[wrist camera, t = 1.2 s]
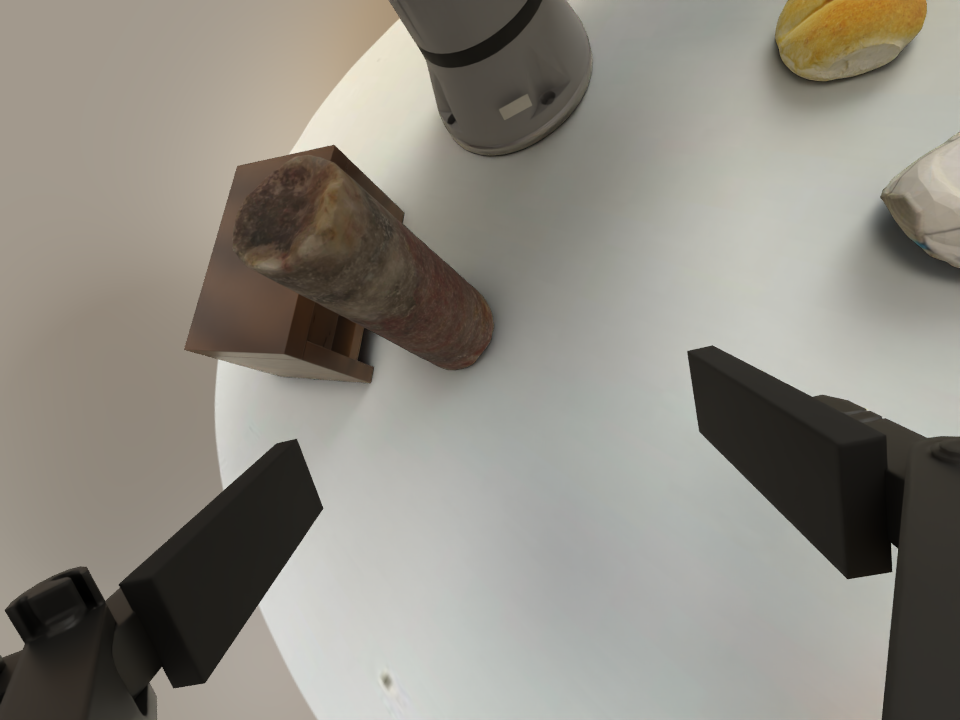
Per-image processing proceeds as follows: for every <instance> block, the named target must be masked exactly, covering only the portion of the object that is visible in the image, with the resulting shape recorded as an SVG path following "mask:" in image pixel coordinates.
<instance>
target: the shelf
mask: <svg viewBox="0 0 960 720" xmlns="http://www.w3.org/2000/svg"><path fill="white" fill-rule="evenodd" d="M304 155H312V156H316V157H321V158H324V159H326V160H329V161H331V162H334V163H335V164H336V165H337V166H338V167H340V168H341V169H342V170H343V171H344V172H345V173H346V174H348V175H349V176H350V177H351V178H352V179H354V180H355V181H356V182H357V183H358V184H359V185H360V186H361V187H362V188H363V189H364V190H366V191H367V192H368V193H369V194H370V195H371V196H372V197H373V198H374V199H376V200H377V201H378V202H379V203H380V204H381V205H382V206H383V207H384V208H386V209H387V210H388V211H389V212H390V213H391V214H392V215H393V216H394V217H395V218H396V219H397V220H398V221H400V222H401V223H402V221H403V216H404V212H403V211H402V210H401V209H400V208H399V207H398V206H397V205H396V204H395V203H394V202H393V201H392V200H391V199H390V198H389V197H388V196H387V195H386V194H385V193H383V192H382V191H381V190H380V189H379V188H378V187H377V186H376V185H375V184H374V183H373V182H372V181H371V180H370V179H369V178H368V177H367V176H366V175H365V174H364V173H363V172H362V171H361V170H360V169H359V168H358V167H357V166H355V165H354V164H353V163H352V162H351V161H350V160H349V159H348V158H347V157H346V156H345V155H344V154H343V153H342V152H341V151H340V150H339V149H338V148H337V147H336V146H335V145H332V146H327V147H322V148H318V149H313V150H309V151H304V152H299V153H295V154H290V155H286V156H282V157H277V158H272V159H267V160H263V161H258V162H254V163H250V164H245V165H240V166H237V169H236V172H235V176H234V179H233V183H232V186H231V190H230V193H229V197H228V200H227V203H226V207H225V210H224V214H223V217H222V221H221V224H220V227H219V231H218V234H217V238H216V241H215V245H214V248H213V252H212V255H211V259H210V262H209V266H208V269H207V272H206V276H205V279H204V283H203V286H202V290H201V293H200V297H199V300H198V303H197V307H196V310H195V314H194V317H193V321H192V325H191V328H190V331H189V335H188V338H187V341H186V345H185V349H184V350H187V351H190V352H194V353H197V354H201V355H205V356H208V357H212V358H216V359H219V360H223V361H226V362H230V363H234V364H237V365H241V366H244V367H248V368H252V369H255V370H259V371H262V372H266V373H270V374H273V375H277V376H280V377H293V378H307V379H320V380H334V381H347V382H361V383H371V380H372V375H373V370H374V367H373V366H370V365H367V364H365V363H362V362H360V361H357V360H358V356H359V351H360V346H361V341H362V336H363V331H364V327H362V326H360V325H358V324H356V323H354V322H352V321H350V320H349V319H347V318H345V317H343V316H341V315H339V314H337V313H335V312H333V311H331V310H329V309H327V308H325V307H323V306H322V305H320V304H318V303H316V302H314V301H312V300H310V299H308V298H306V297H304V296H302V295H300V294H298V293H296V292H294V291H292V290H290V289H288V288H286V287H284V286H283V285H281V284H279V283H277V282H275V281H273V280H271V279H269V278H267V277H265V276H264V275H262V274H260V273H258V272H256V271H254V270H252V269H251V268H249V267H247V266H246V265H245V264H244V263H242V262H241V261H240V259H239V258H238V256H237V254H236V253H235V252H234V251H233V249H232V247H233V244H232V237H233V227H234V224H235V219H236V214H237V212H238V209H239V208H240V207H241V205H242V203H243V201H244V199H245V198H246V197H247V196H248V195H249V194H250V193H251V192H252V191H253V190H254V189H255V188H256V187H257V186H258V185H259V184H261V182H262V181H263V180H264V179H265V178H266V177H267V176H268V175H270V174H271V173H272V172H273V171H275V170H277V169H278V168H279V167H280V166H281V165H283V164H284V163H286V162H287V161H289V160H290V159H292V158H294V157H297V156H304Z"/></svg>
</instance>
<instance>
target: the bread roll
mask: <svg viewBox="0 0 960 720" xmlns="http://www.w3.org/2000/svg"><path fill="white" fill-rule="evenodd" d="M926 13H927V3H926V0H788V1H787V3H786V5H785V7H784V9H783V11H782V12H781V14H780V16H779V19H778V22H777V26H776V33H775V40H776V43H777V45H778V47H779V52H780V56H781V59H782V60H783V62H784V64H785V65H786V66H787V67H788V68H789V69H790V70H791V71H792V72H794V73H795V74H797V75H798V76H800V77H803V78H806V79H809V80H816V81H828V80H834V79H839V78H846V77H852V76H856V75H859V74H862V73H865V72H868V71H871V70H874V69H877V68H879V67H881V66H883V65H885V64H887V63H889V62H891V61H892V60H893V59H894V58H896V57H897V56H898V54H899V53H900V52H901V51H902V49H903V48H904V47H905V46H906V45H907V44H909V43H910V42H911V41H912V40H913V39H914V37H915V36H916V35H917V34H918V33H919V32H920V30H921V29H922V26H923V23H924V20H925V17H926Z"/></svg>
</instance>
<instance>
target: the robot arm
mask: <svg viewBox="0 0 960 720" xmlns="http://www.w3.org/2000/svg"><path fill="white" fill-rule="evenodd" d="M389 2H390V3H391V5H392V6H393V8H394V9H395V11H396V13H397V14H398V16H399V17H400V19H401V21H402V22H403V24H404V25H405V27H406V28H407V30H408V32H409V33H410V35H411V36H412V38H413V39H414V41H415V42H416V44H417V46H418V47H419V49H420V51H421V52H422V54H423V56H424V57H425V59H426V62H427V66H428V70H429V74H430V78H431V82H432V86H433V90H434V95H435V99H436V103H437V107H438V111H439V114H440V116H441V119H442V121H443V123H444V125H445V127H446V128H447V130H448V131H449V133H450V134H451V136H452V137H453V139H454V140H455V141H456V142H457V143H458V144H459V145H460V146H461V147H463V148H464V149H466V150H468V151H470V152H473V153H476V154H481V155H503V154H508V153H512V152H516V151H519V150H521V149H524V148H527V147H529V146H531V145H533V144H535V143H537V142H538V141H540V140H542V139H543V138H545V137H546V136H548V135H549V134H550V133H552V132H553V131H554V130H556V129H557V128H558V127H559V126H560V125H561V124H562V123H563V122H564V121H565V120H566V119H567V118H568V117H569V116H570V115H571V113H572V112H573V111H574V110H575V108H576V107H577V105H578V104H579V102H580V101H581V99H582V97H583V95H584V93H585V91H586V89H587V87H588V84H589V81H590V77H591V73H592V63H593V61H592V53H591V48H590V44H589V39H588V36H587V33H586V31H585V29H584V26H583V24H582V22H581V20H580V19H579V17H578V16H577V14H576V13H575V12H574V10H573V9H572V7H571V6H570V5H569V3H568V2H567V0H389ZM687 353H688V359H689V366H690V373H691V379H692V386H693V393H694V399H695V406H696V413H697V420H698V426H699V432H700V433H701V434H702V435H703V436H704V437H705V438H706V439H707V440H708V441H709V442H710V443H711V444H712V445H713V446H714V447H715V448H716V449H717V450H718V451H719V452H720V453H721V454H722V455H723V456H724V457H725V458H726V459H727V460H728V461H729V462H730V463H731V464H732V465H733V466H734V467H735V468H736V469H737V470H738V471H739V472H740V473H741V474H742V475H743V476H744V477H745V478H746V479H747V480H748V481H749V482H750V483H751V484H752V485H753V486H754V487H755V488H756V489H757V490H758V491H759V492H760V493H761V494H762V495H763V496H764V497H765V498H766V499H767V500H768V501H769V502H770V503H771V504H772V505H773V506H774V507H775V508H776V509H777V510H778V511H779V512H780V513H781V514H782V515H783V516H784V517H785V518H786V519H787V520H788V521H790V522H791V523H792V524H793V525H794V526H795V527H796V528H797V529H798V530H799V531H800V532H801V533H802V534H803V535H804V536H805V537H806V538H807V539H808V540H809V541H810V542H811V543H812V544H813V545H814V546H815V547H816V548H817V549H818V550H819V551H820V552H821V553H822V554H823V555H824V556H825V557H826V558H827V559H828V560H829V561H830V562H831V563H832V564H833V565H834V566H835V567H836V568H837V569H838V570H839V571H840V572H841V573H842V574H843V575H844V576H845V577H846V578H847V579H852V578H858V577H864V576H871V575H877V574H883V573H889V572H892V556H891V543H892V544H893V545H894V546H896V547H897V548H898V557H897V568H896V578H895V588H894V599H893V609H892V619H891V630H890V640H889V650H888V661H887V671H886V681H885V692H884V702H883V712H882V720H960V437H949V436H940V437H933V438H926V437H924V436H922V435H920V434H918V433H915V432H913V431H911V430H909V429H907V428H905V427H903V426H901V425H899V424H896V423H894V422H892V421H890V420H888V419H886V418H885V419H882V417H881V416H880V415H877V414H875V413H873V412H871V411H866V409H865V408H863V407H860V406H858V405H856V404H854V403H852V402H850V401H848V400H844V399H839V398H835V397H830V396H826V395H819V396H815V397H811V396H809V395H808V394H806V393H804V392H802V391H800V390H798V389H796V388H794V387H792V386H790V385H788V384H786V383H784V382H782V381H780V380H778V379H777V378H775V377H773V376H771V375H769V374H767V373H765V372H763V371H761V370H759V369H757V368H755V367H753V366H751V365H749V364H747V363H746V362H744V361H742V360H740V359H738V358H736V357H734V356H732V355H730V354H728V353H726V352H724V351H722V350H720V349H718V348H716V347H715V346H708V347H704V348H699V349H695V350H690V351H687ZM322 510H323V506H322V504H321V501H320V498H319V496H318V493H317V490H316V488H315V485H314V483H313V480H312V477H311V475H310V472H309V469H308V467H307V464H306V462H305V459H304V456H303V454H302V451H301V449H300V446H299V443H298V441H297V439H294V440H290V441H285V442H281V443H277V444H275V445H274V446H273V447H272V448H271V449H270V450H269V451H267V452H266V453H265V454H264V455H263V456H262V457H261V458H260V459H259V460H257V461H256V462H255V463H254V464H253V465H252V466H251V467H250V468H248V469H247V470H246V471H245V472H244V473H243V474H242V475H241V476H239V477H238V478H237V479H236V480H235V481H234V482H233V483H232V484H230V485H229V486H228V487H227V488H226V489H225V490H224V491H223V492H222V493H220V494H219V495H218V496H217V497H216V498H215V499H214V500H213V501H212V502H210V503H209V504H208V505H207V506H206V507H205V508H204V509H202V510H201V511H200V512H199V513H198V514H197V515H196V516H195V517H194V518H192V519H191V520H190V521H189V522H188V523H187V524H186V525H185V526H183V527H182V528H181V529H180V530H179V531H178V532H177V533H176V534H175V535H173V536H172V537H171V538H170V539H169V540H168V541H167V542H166V543H164V544H163V545H162V546H161V547H160V548H159V549H158V550H157V551H155V552H154V553H153V554H152V555H151V556H150V557H149V558H148V559H147V560H146V561H144V562H143V563H142V564H141V565H140V566H139V567H138V568H136V569H135V570H134V571H133V572H132V573H131V574H130V575H129V576H128V577H126V578H125V579H124V580H123V581H122V582H121V583H120V584H119V586H120V588H119V589H118V590H117V591H116V592H115V593H114V594H113V595H111V596H110V597H109V598H108V599H107V600H106V601H105V600H104V598H103V596H102V594H101V592H100V591H99V589H98V587H97V585H96V583H95V581H94V580H93V578H92V576H91V574H90V572H89V570H88V568H87V567H77V568H73V569H69V570H66V571H64V572H61V573H59V574H57V575H54V576H52V577H50V578H48V579H46V580H44V581H43V582H40V583H39V584H37V585H35V586H34V587H32V588H31V589H29V590H27V591H26V592H24V593H23V594H21V595H20V596H19V597H18V598H16V599H15V600H14V601H12V602H11V603H10V605H9V606H8V607H7V608H6V609H5V612H6V613H7V615H8V617H9V618H10V620H11V622H12V623H13V625H14V627H15V628H16V630H17V631H18V633H19V635H20V636H21V638H22V640H23V641H24V643H25V645H24V648H23V650H21V651H19V652H16V653H14V654H11V655H9V656H6V657H3V658H2V657H1V656H0V720H157V696H156V695H155V692H154V690H153V688H152V686H151V685H150V683H149V682H150V681H151V680H152V678H153V677H154V676H155V675H156V673H157V672H158V671H159V669H160V668H161V667H163V669H164V671H165V673H166V675H167V677H168V679H169V681H170V683H171V684H172V686H173V688H179V687H185V686H191V685H197V684H203V683H205V682H206V681H207V679H208V678H209V677H210V675H211V674H212V672H213V671H214V669H215V668H216V666H217V665H218V663H219V662H220V660H221V659H222V657H223V656H224V654H225V653H226V651H227V650H228V648H229V647H230V646H231V644H232V643H233V641H234V640H235V638H236V637H237V635H238V634H239V632H240V631H241V629H242V628H243V626H244V625H245V623H246V622H247V620H248V619H249V617H250V616H251V614H252V613H253V612H254V610H255V609H256V607H257V606H258V604H259V603H260V601H261V600H262V598H263V597H264V595H265V594H266V592H267V591H268V589H269V588H270V586H271V585H272V583H273V582H274V581H275V579H276V578H277V576H278V575H279V573H280V572H281V570H282V569H283V567H284V566H285V564H286V563H287V561H288V560H289V558H290V557H291V555H292V554H293V552H294V551H295V550H296V548H297V547H298V545H299V544H300V542H301V541H302V539H303V538H304V536H305V535H306V533H307V532H308V530H309V529H310V527H311V526H312V524H313V523H314V521H315V520H316V518H317V517H318V516H319V514H320V513H321V511H322Z"/></svg>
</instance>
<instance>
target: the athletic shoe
mask: <svg viewBox="0 0 960 720" xmlns="http://www.w3.org/2000/svg"><path fill="white" fill-rule="evenodd" d="M880 198H881V199H882V200H883V201H884V203H885V204H886V206H887V208H888V209H889V211H890V213H891V214H892V216H893V218H894V219H895V221H896V222H897V223H898V225H899V226H900V227H901V229H902V230H903V231H904V232H905V234H906V235H907V236H908V237H909V238H910V239H911V240H912V241H914V242H915V243H916V244H917V245H918V246H920V247H921V248H922V249H923V250H924V251H925V252H926V253H927V254H928V255H929V256H931V257H933V258H936V259H939V260H943V261H947V262H948V263H949V264H950V265H952V266H953V267H957V268H960V132H959V133H957V134H956V135H954V136H952V137H951V138H950V139H948V140H947V141H946V142H945V143H943V144H942V145H940V146H939V147H937V148H935V149H933V150H932V151H930V152H928V153H927V154H925V155H924V156H922V157H921V158H919V159H918V160H917V161H915V162H914V163H912V164H911V165H910V166H908V167H907V168H906V169H904V170H903V171H902V172H901V173H899V174H898V175H897V176H895V177H894V178H893V179H892V180H891V181H890V183H889V184H888V186H887V187H886V188H885V189H884V190H883V192H882V195H881V196H880Z"/></svg>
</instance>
